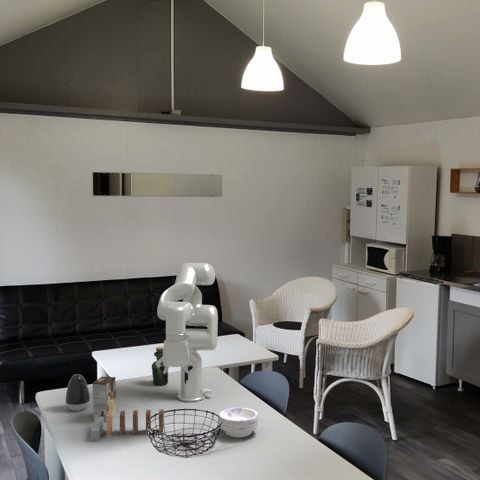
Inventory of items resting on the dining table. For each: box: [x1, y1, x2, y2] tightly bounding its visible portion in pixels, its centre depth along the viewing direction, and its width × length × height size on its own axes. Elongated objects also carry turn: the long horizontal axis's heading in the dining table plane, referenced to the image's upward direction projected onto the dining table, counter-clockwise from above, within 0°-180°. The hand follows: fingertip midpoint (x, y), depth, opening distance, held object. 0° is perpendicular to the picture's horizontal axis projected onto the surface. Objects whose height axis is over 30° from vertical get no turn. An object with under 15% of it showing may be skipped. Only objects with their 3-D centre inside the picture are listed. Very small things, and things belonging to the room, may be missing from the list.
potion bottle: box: [151, 346, 169, 387], centre depth 294 cm, size 8×8×18 cm
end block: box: [90, 417, 105, 442], centre depth 235 cm, size 3×14×4 cm, turn 5°
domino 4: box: [145, 409, 152, 436], centre depth 236 cm, size 2×5×8 cm, turn 5°
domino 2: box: [119, 410, 126, 437], centre depth 236 cm, size 2×5×8 cm, turn 5°
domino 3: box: [132, 409, 139, 436], centre depth 236 cm, size 2×5×8 cm, turn 5°
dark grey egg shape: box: [64, 373, 91, 412], centre depth 261 cm, size 10×10×15 cm
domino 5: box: [158, 408, 165, 433], centre depth 237 cm, size 2×5×8 cm, turn 5°
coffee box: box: [92, 376, 117, 422], centre depth 251 cm, size 9×6×16 cm
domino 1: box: [105, 411, 113, 437], centre depth 235 cm, size 2×5×8 cm, turn 5°
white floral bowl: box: [218, 407, 259, 439], centre depth 235 cm, size 15×15×8 cm
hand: (176, 382), depth 236 cm, fingers open, 6 cm apart
